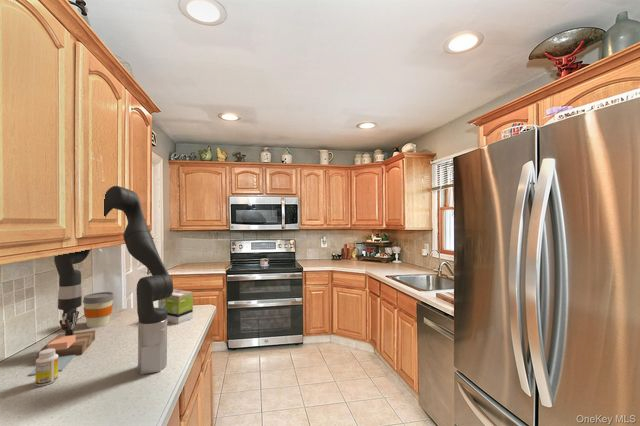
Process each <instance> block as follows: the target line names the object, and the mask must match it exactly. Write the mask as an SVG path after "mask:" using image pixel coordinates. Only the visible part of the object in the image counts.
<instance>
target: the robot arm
mask: <svg viewBox="0 0 640 426" xmlns="http://www.w3.org/2000/svg"><path fill="white" fill-rule="evenodd" d="M105 193H106V194H105ZM105 193H104V194H105V199H104V216H105V217H106V218H107V215H108V214H109V213H110V212H111V211H112V210H113V209H114V210H118V211H122V212H123V213H124V216H125V217H126V220H127V225H126V227H125V230H124V232H123V241H124V244H125V246H126V249H127V252H128V253H129V255H131V256H132V257H133V258H134V259H136V260H137V261H138V262H140V263H141V264H142V265H143V266H144V267H146V268H147V269H148V271H149V272H150V273H151V274H150V275H148V276H142V277H140V278H139V280H138V281H137V283H136V290H135V291H136V310H137V311H136V312H137V317H138V327H137V328H138V329H137V330H138V331H137V372H138V373H140V375H147V374H151V373H152V374H153V373H159V372H161V371H162V370H163V369H165V368H166V366H167V363H168V361H167V360H168V354H167V353H168V349H167V348H168V322H167V310H165V309H162V308H158V307H155V306H154V302H156V301H157V302H158V300H162V299H165V298H168V297H170V296H171V295H172V293H173V289H174V284H173V281H172V280H173V279H172V278H171V275H170V274H169V272H168V270H167V268H166V266H165V265H164V263H163V261H162V258H161V257H160V254H159V252H158V249H157V246H156V244H155V241H154V237H153V236H152V233H151V231H150V228H149V226H148V224H147V221H146V218H145V215H144V212H143V207H142V203H141V201H140V197H139V196H138V194H137V193H136V191H134V190H131V189H128V188H126V187H122V186H119V185H114V186H111V187H109V188H108V190H106V191H105ZM91 251H92V248H91V249H90V250H85V251H81V252H75V253H69V254H63V255H58V256H55V255H54V259H53V261H54V264H55V267H56V271H57V274H58V277H59V278H58V279H59V280H58V291H57V309H58V310H61V311H62V314H61V318H62V319H59V325H60V326H61V330H62V331H65V332H64V334H65V336H71V335H73V333H74V329H75V326H76V325H77V322H78V318H79V314H80V311H79V310H78V308H80V307H81V306H82V304H83V301H82V300H83V299H82V297H83V296H82V295H83V294H82V293H83V287H82V272H81V271H80V270H79V269H75V268H74V265H76V264H80V263H82V262H83V261H85V260H86V259H87V257H88V256H89V254H90V252H91Z"/></svg>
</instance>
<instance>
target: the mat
mask: <svg viewBox="0 0 640 426" xmlns="http://www.w3.org/2000/svg"><path fill="white" fill-rule="evenodd" d="M76 356H77V355H76V354H73V355H65V356H58V372H63V370H64V369H66V367H67V365H68V364H70V362H71V361H72V360H73V359H74V358H75V357H76ZM28 376H29V377H31V376H36V367H35V368H34V369H33V370H32V371H31V372H30V373H29V374H28Z"/></svg>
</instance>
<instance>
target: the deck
mask: <svg viewBox="0 0 640 426" xmlns="http://www.w3.org/2000/svg"><path fill="white" fill-rule="evenodd" d="M73 335H76V340H75V342H74V343H73V344H72V345H71V346H70V347H69V348H67V349H62V350H55V354H58V356H65V355H73V354H76V356H80V355H81V356H82V355H83V354H84V353H85V352H86V351H87V349H89V347H90V346H91V345H92V343H93V342H95V340H96V330H95V329H94V330H87V331H80V332H79V331H78V332H73ZM62 336H65V333H61V334H60V333H59V334H58V335H56V336H55V337H53V339H51V340H50V341H49V342H48V343H47V344H45V345H44V346H43V347H42V348H40V351H39V352H41V351H43V350H46V349H47V345H48V344H49V343H50V342H51V341H53V340H54V339H55V338H57V337H62Z"/></svg>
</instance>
